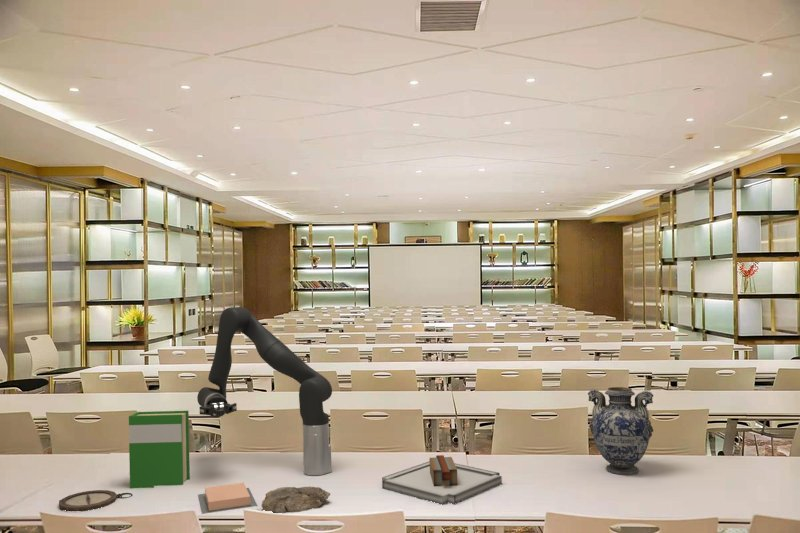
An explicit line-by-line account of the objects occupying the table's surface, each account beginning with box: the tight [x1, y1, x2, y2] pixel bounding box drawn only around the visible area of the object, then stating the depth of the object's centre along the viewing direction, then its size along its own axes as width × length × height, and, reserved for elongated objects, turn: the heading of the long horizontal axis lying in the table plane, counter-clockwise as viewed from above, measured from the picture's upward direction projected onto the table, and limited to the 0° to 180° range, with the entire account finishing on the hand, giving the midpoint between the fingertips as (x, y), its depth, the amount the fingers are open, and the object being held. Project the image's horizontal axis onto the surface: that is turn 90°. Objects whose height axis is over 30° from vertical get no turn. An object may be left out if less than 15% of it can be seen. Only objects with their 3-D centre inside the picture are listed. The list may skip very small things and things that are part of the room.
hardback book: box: [128, 410, 191, 489], centre depth 222 cm, size 18×7×24 cm, turn 90°
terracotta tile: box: [204, 482, 250, 511], centre depth 200 cm, size 12×3×15 cm
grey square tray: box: [381, 454, 503, 506], centre depth 213 cm, size 30×30×8 cm
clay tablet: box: [261, 486, 331, 513], centre depth 197 cm, size 14×5×20 cm
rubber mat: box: [197, 487, 258, 515], centre depth 201 cm, size 16×19×1 cm
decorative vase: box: [587, 386, 654, 476], centre depth 223 cm, size 21×19×28 cm
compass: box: [58, 489, 134, 512], centre depth 204 cm, size 20×16×2 cm
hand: (220, 413), depth 215 cm, fingers closed
